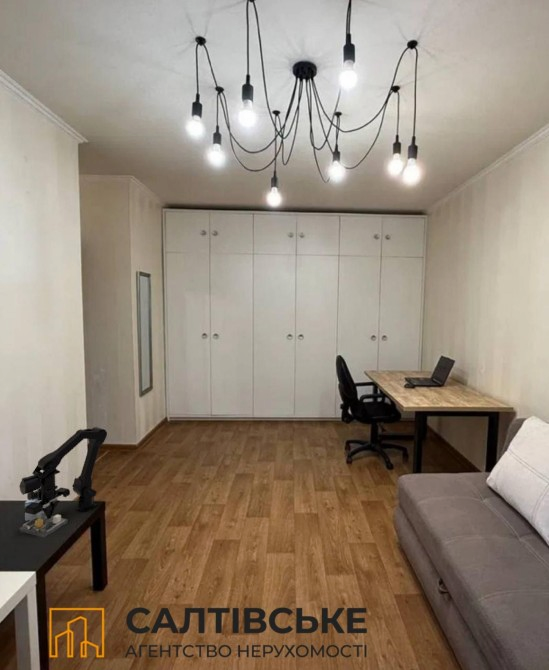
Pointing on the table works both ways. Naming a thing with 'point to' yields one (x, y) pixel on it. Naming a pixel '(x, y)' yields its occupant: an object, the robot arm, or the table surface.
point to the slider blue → (41, 515)
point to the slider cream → (56, 519)
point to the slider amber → (39, 523)
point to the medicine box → (27, 515)
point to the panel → (42, 527)
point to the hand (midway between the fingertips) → (49, 518)
